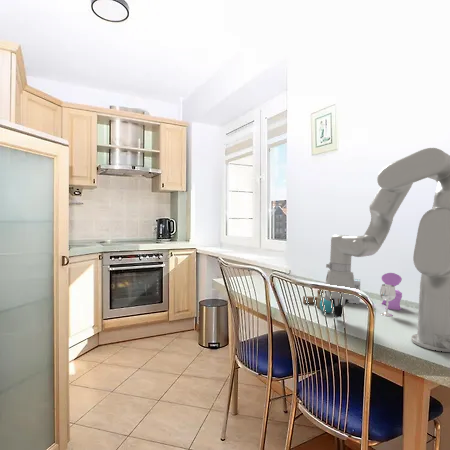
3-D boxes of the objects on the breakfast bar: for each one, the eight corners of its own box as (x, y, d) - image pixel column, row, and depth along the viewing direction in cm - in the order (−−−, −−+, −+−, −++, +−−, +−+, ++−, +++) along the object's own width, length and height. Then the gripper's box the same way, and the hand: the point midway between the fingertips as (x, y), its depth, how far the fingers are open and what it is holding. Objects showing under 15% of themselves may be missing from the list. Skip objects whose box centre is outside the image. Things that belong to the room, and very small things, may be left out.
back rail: (340, 305, 148) (340, 298, 148) (303, 303, 148) (304, 297, 148) (338, 304, 150) (338, 297, 150) (302, 302, 150) (303, 296, 150)
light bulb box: (359, 301, 157) (360, 278, 157) (359, 304, 151) (360, 281, 151) (335, 298, 161) (336, 276, 161) (334, 301, 155) (336, 278, 155)
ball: (329, 299, 140) (335, 312, 137) (316, 302, 139) (321, 316, 136) (332, 294, 135) (339, 308, 132) (318, 297, 134) (324, 312, 131)
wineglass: (391, 313, 139) (392, 284, 138) (396, 317, 133) (398, 287, 132) (376, 312, 139) (378, 283, 139) (381, 316, 133) (383, 286, 133)
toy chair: (383, 308, 145) (384, 274, 145) (378, 303, 154) (380, 271, 154) (404, 310, 144) (405, 276, 143) (398, 305, 152) (400, 272, 152)
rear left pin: (323, 308, 141) (324, 288, 141) (317, 308, 141) (318, 288, 141) (321, 307, 144) (322, 287, 144) (316, 306, 144) (316, 287, 144)
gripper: (323, 268, 122) (320, 318, 123) (364, 270, 122) (361, 319, 122) (317, 265, 130) (315, 312, 130) (356, 267, 129) (354, 313, 130)
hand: (337, 315), depth 126 cm, fingers closed
